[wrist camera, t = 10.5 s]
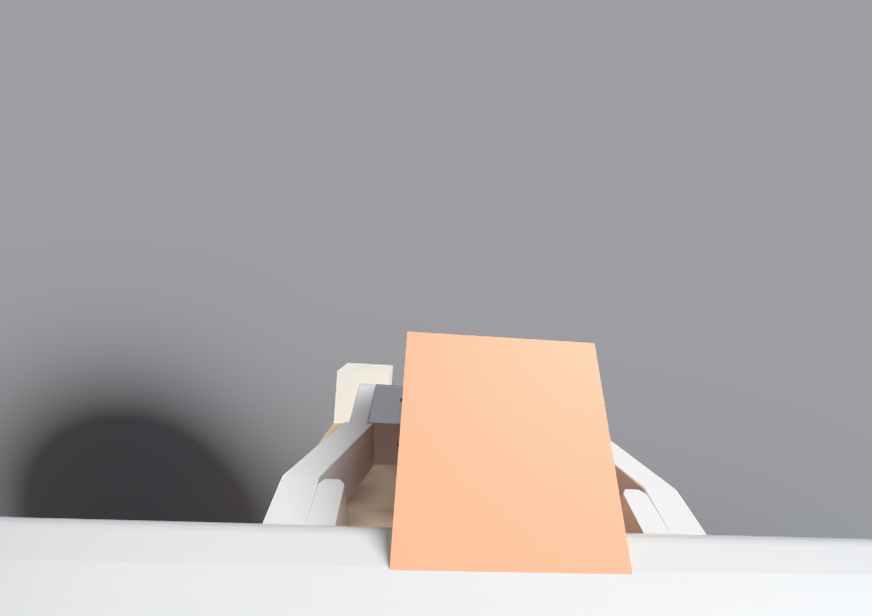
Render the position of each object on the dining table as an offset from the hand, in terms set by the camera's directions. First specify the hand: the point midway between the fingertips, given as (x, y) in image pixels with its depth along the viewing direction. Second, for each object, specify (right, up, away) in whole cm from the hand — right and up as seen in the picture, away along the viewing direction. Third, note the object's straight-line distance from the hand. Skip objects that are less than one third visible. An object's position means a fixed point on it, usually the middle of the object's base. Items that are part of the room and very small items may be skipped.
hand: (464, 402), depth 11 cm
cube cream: (-8, -8, +23) cm, 26 cm away
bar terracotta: (-1, -5, +4) cm, 7 cm away
